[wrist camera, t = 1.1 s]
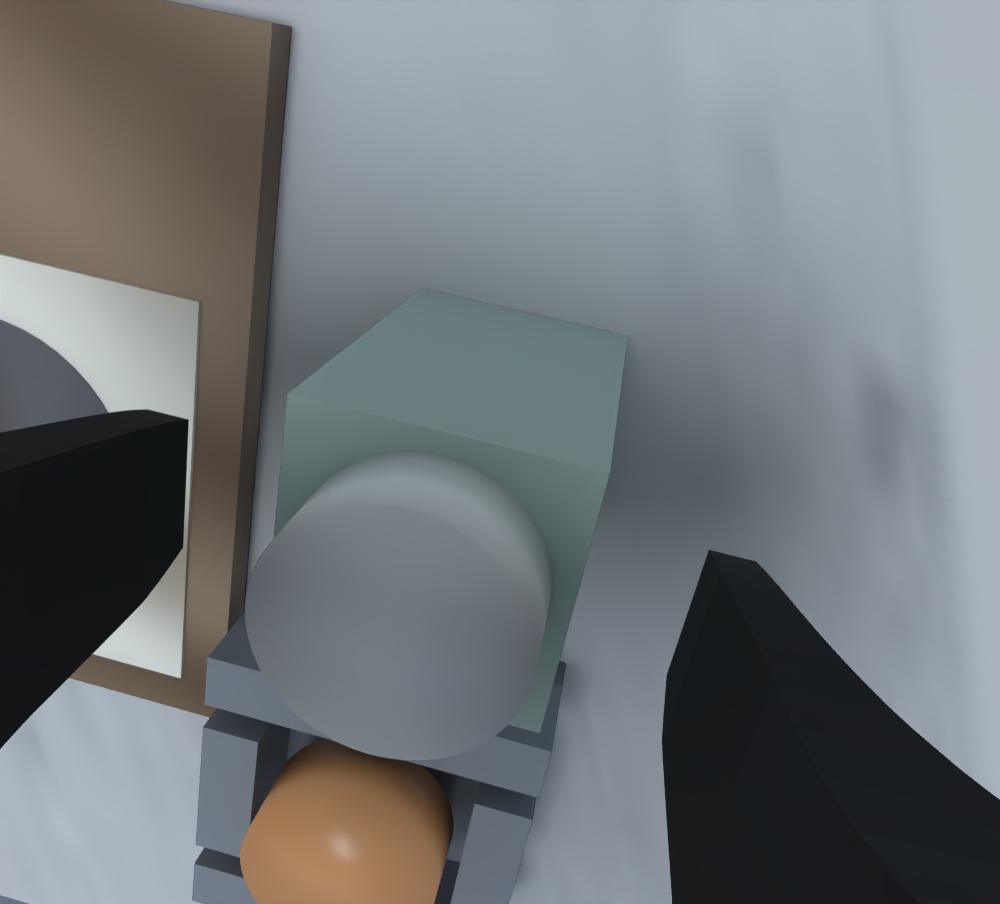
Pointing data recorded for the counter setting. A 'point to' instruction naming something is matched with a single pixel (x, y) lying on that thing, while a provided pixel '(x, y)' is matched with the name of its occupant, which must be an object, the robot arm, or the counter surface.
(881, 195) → the counter surface
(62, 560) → the robot arm
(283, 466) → the green square bottle
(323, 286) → the counter surface
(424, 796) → the button
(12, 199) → the drawing board
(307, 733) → the button housing
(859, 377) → the counter surface
